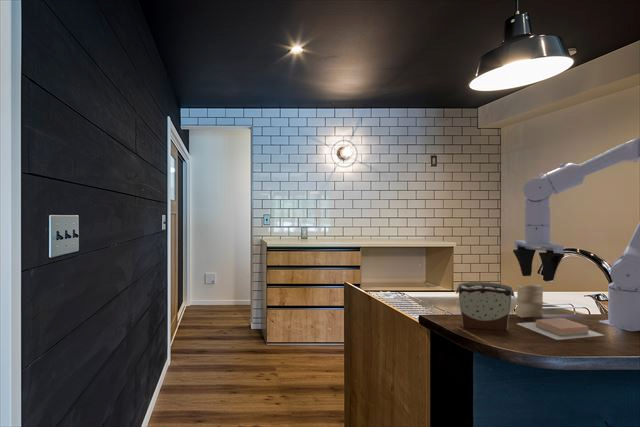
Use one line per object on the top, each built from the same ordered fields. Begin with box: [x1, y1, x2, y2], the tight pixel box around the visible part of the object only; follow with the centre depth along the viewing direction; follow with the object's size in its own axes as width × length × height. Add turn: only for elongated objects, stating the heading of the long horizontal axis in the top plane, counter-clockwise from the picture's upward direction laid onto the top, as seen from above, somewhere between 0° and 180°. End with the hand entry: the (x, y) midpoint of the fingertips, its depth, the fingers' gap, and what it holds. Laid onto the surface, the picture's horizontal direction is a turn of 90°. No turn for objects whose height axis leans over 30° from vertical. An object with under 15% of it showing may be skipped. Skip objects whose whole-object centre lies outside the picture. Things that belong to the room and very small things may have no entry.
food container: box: [455, 281, 516, 331], centre depth 93 cm, size 12×6×10 cm, turn 74°
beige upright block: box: [516, 284, 544, 318], centre depth 101 cm, size 6×2×8 cm, turn 102°
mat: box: [516, 321, 606, 341], centre depth 90 cm, size 12×12×1 cm
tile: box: [535, 317, 589, 336], centre depth 89 cm, size 7×2×7 cm
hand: (537, 278), depth 103 cm, fingers open, 7 cm apart
